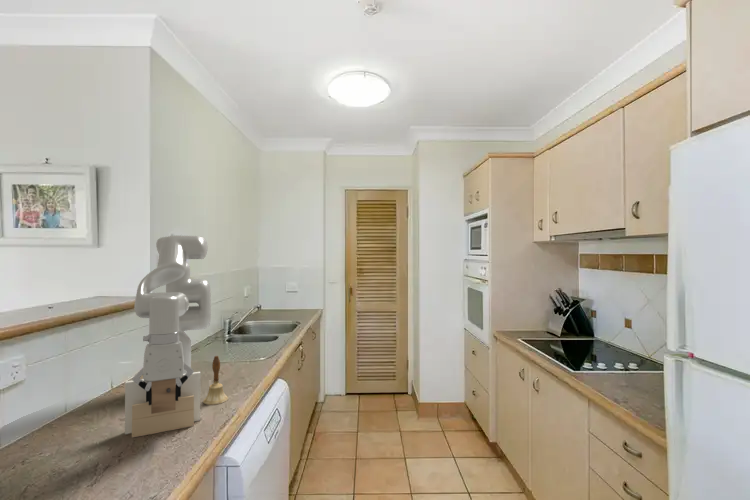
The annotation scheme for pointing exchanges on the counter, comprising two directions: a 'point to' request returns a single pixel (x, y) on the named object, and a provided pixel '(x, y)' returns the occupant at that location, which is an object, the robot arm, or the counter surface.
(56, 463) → the counter surface
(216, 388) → the hand bell
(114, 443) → the counter surface
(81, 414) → the counter surface
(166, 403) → the wall box
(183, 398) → the wall board
